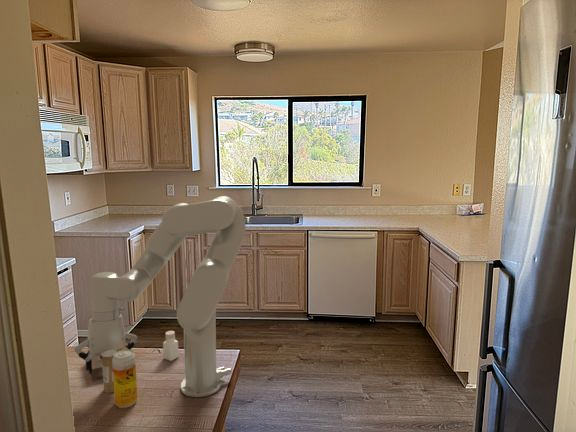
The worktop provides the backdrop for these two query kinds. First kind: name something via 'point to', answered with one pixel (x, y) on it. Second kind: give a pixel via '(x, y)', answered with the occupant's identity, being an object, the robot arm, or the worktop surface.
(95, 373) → the open brown cardboard box
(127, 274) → the robot arm
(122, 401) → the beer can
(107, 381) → the sprinkles bottle
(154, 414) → the worktop surface
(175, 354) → the pepper shaker
